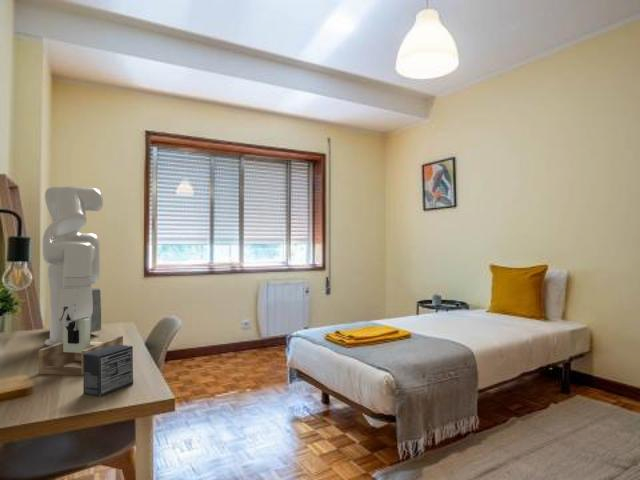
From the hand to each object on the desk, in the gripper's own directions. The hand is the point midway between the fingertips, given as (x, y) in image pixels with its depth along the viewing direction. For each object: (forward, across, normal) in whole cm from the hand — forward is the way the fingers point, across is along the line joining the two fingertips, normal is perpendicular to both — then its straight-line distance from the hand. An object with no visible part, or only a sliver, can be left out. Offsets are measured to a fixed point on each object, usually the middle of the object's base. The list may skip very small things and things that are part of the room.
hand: (76, 341), depth 125 cm
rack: (+8, -3, 0) cm, 8 cm away
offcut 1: (+8, -9, -3) cm, 13 cm away
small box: (+8, +17, +21) cm, 28 cm away
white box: (+3, 0, 0) cm, 3 cm away
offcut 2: (+5, -9, 0) cm, 10 cm away
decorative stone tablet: (+10, -48, -34) cm, 60 cm away
